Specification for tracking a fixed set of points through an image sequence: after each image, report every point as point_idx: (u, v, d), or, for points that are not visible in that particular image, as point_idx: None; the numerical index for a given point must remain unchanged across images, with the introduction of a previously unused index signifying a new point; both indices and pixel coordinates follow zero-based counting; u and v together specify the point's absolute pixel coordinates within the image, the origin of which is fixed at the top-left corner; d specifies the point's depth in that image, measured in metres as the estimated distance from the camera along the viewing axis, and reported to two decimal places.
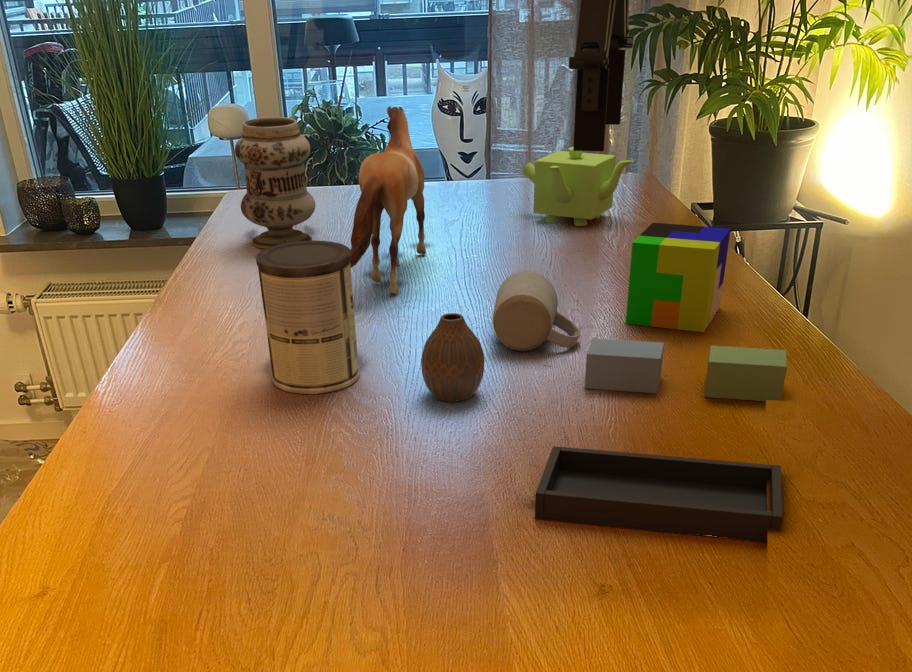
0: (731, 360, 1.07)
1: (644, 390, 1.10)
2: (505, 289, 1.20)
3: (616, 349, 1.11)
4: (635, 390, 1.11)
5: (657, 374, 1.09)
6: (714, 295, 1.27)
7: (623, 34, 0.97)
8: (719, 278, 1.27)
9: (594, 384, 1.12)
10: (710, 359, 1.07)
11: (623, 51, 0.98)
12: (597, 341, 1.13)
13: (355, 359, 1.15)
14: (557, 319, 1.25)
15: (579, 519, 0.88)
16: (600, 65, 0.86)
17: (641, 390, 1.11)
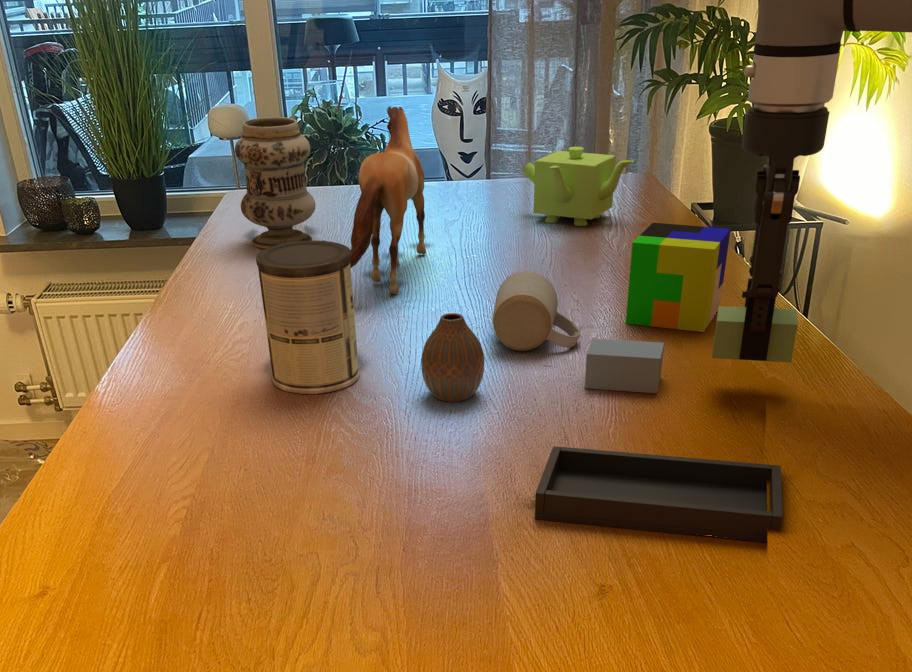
0: (740, 319, 1.04)
1: (644, 390, 1.10)
2: (505, 289, 1.20)
3: (616, 349, 1.11)
4: (635, 390, 1.11)
5: (657, 374, 1.09)
6: (714, 295, 1.27)
7: None
8: (719, 278, 1.28)
9: (594, 384, 1.12)
10: (718, 318, 1.05)
11: None
12: (597, 341, 1.13)
13: (355, 359, 1.15)
14: (557, 319, 1.25)
15: (579, 519, 0.88)
16: (769, 298, 1.00)
17: (641, 390, 1.11)
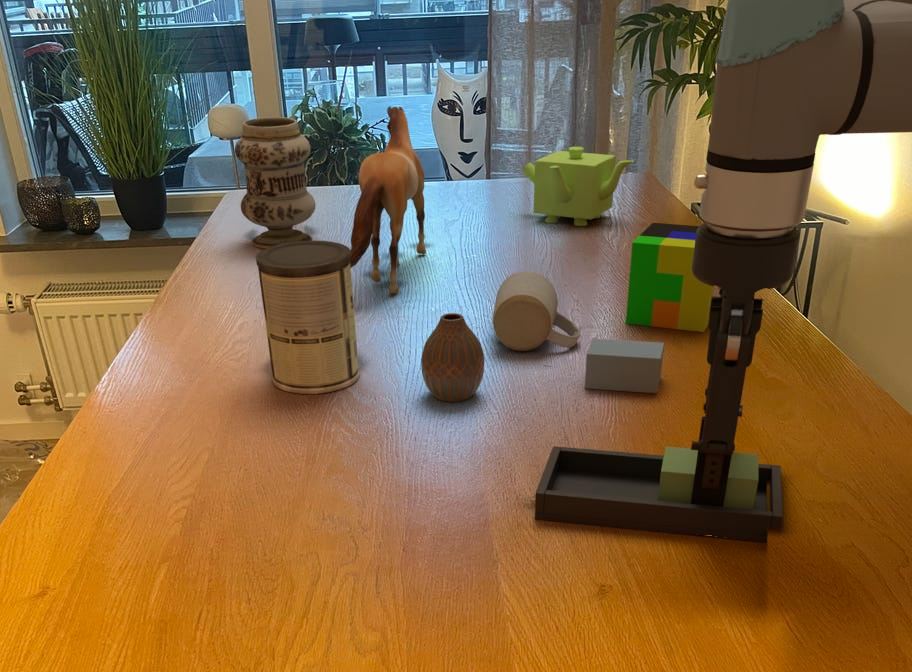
0: (689, 469, 0.85)
1: (644, 390, 1.10)
2: (505, 289, 1.20)
3: (616, 349, 1.11)
4: (635, 390, 1.11)
5: (657, 374, 1.09)
6: (714, 295, 1.27)
7: None
8: None
9: (594, 384, 1.12)
10: (663, 467, 0.86)
11: None
12: (597, 341, 1.13)
13: (355, 359, 1.15)
14: (557, 319, 1.25)
15: (579, 519, 0.88)
16: None
17: (641, 390, 1.11)
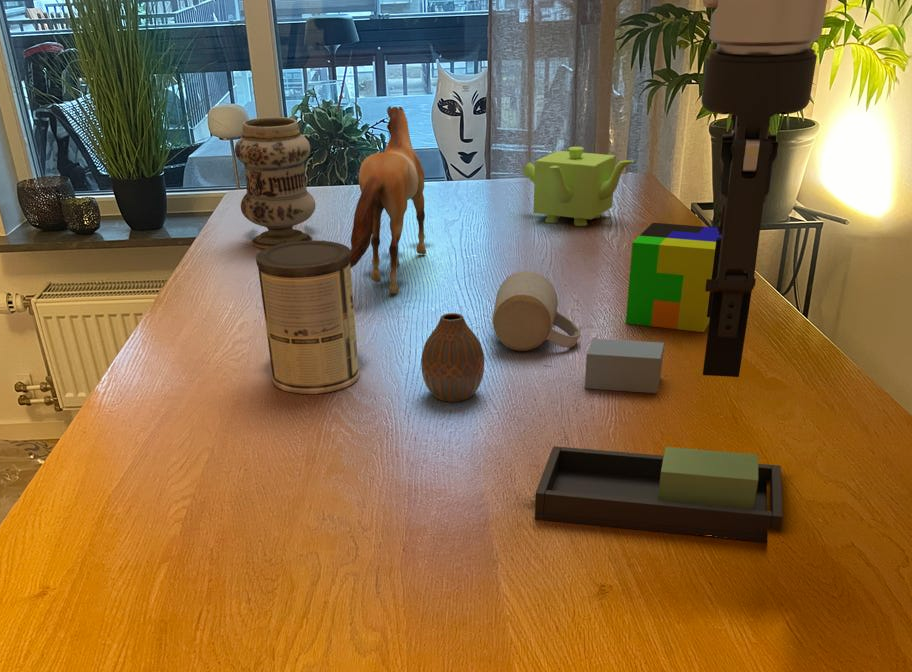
0: (689, 469, 0.85)
1: (644, 390, 1.10)
2: (505, 289, 1.20)
3: (616, 349, 1.11)
4: (635, 390, 1.11)
5: (657, 374, 1.09)
6: None
7: None
8: None
9: (594, 384, 1.12)
10: (663, 468, 0.86)
11: None
12: (597, 341, 1.13)
13: (355, 359, 1.15)
14: (557, 319, 1.25)
15: (579, 519, 0.88)
16: None
17: (641, 390, 1.11)
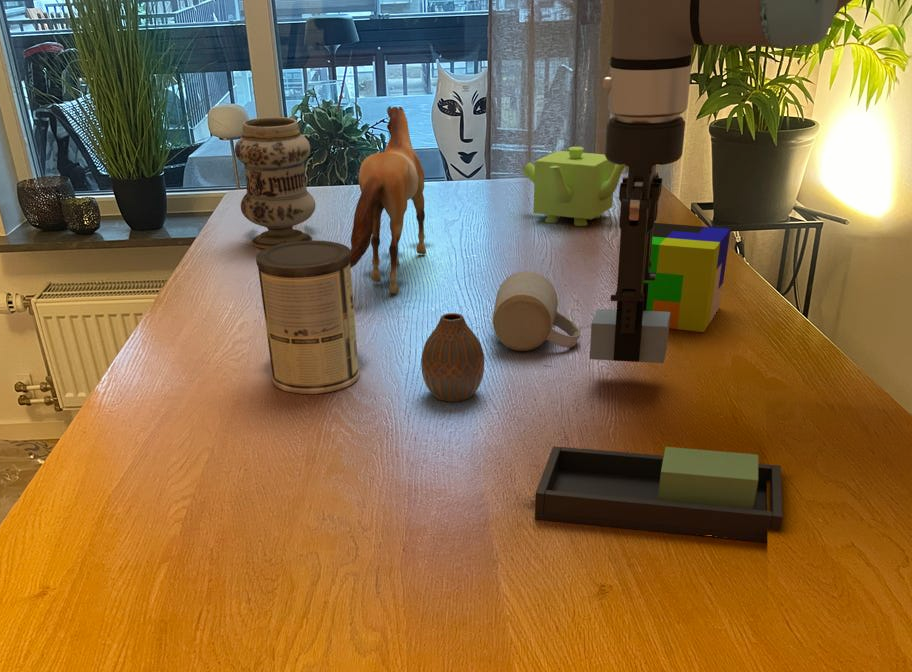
0: (689, 469, 0.85)
1: (650, 360, 1.08)
2: (505, 289, 1.20)
3: None
4: (641, 360, 1.08)
5: (663, 343, 1.07)
6: (714, 295, 1.27)
7: (647, 266, 1.08)
8: (719, 278, 1.28)
9: (599, 354, 1.09)
10: (663, 468, 0.86)
11: (647, 285, 1.09)
12: (602, 311, 1.10)
13: (355, 359, 1.15)
14: (557, 319, 1.25)
15: (579, 519, 0.88)
16: (636, 301, 1.03)
17: (647, 360, 1.08)
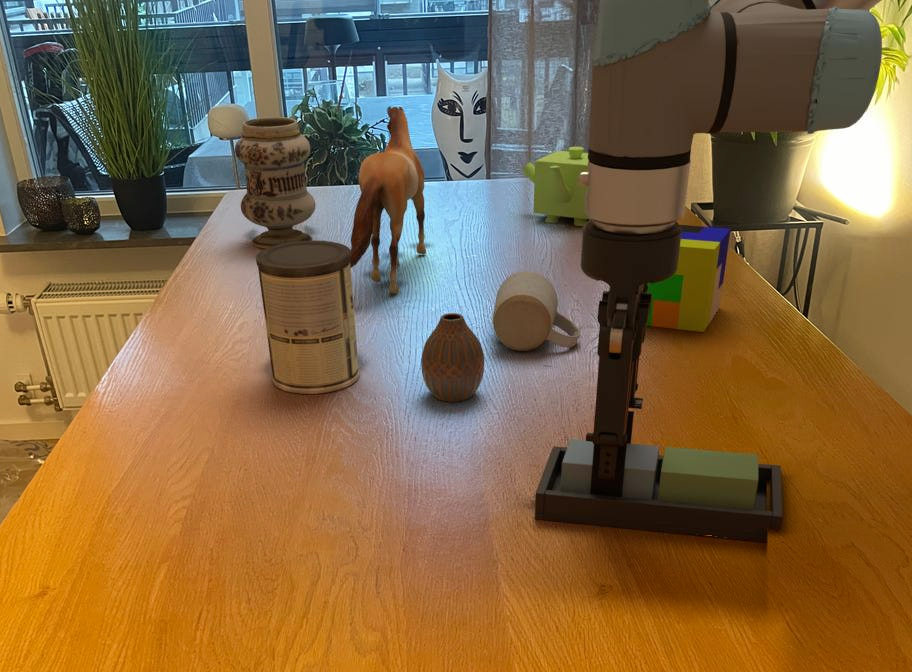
0: (689, 469, 0.85)
1: None
2: (505, 289, 1.20)
3: None
4: None
5: (650, 489, 0.87)
6: (714, 295, 1.27)
7: (632, 392, 0.88)
8: (719, 278, 1.28)
9: None
10: (663, 468, 0.86)
11: (631, 415, 0.88)
12: (575, 444, 0.90)
13: (355, 359, 1.15)
14: (557, 319, 1.25)
15: (579, 519, 0.88)
16: None
17: None
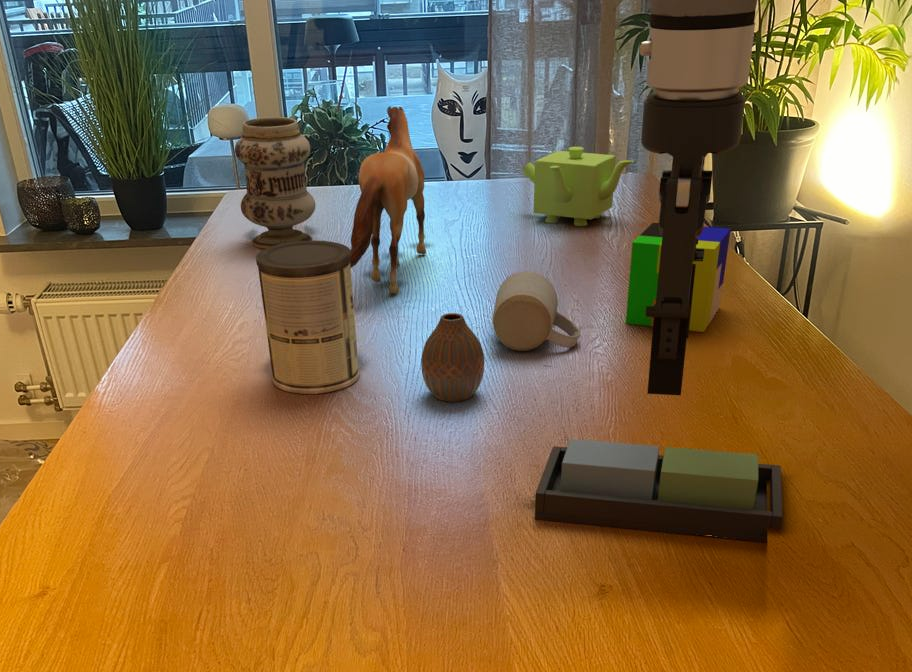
0: (689, 469, 0.85)
1: None
2: (505, 289, 1.20)
3: (599, 456, 0.88)
4: None
5: (650, 489, 0.87)
6: (714, 295, 1.27)
7: (694, 250, 0.89)
8: (719, 278, 1.28)
9: None
10: (663, 468, 0.86)
11: (694, 267, 0.89)
12: (575, 444, 0.90)
13: (355, 359, 1.15)
14: (557, 319, 1.25)
15: (579, 519, 0.88)
16: None
17: None
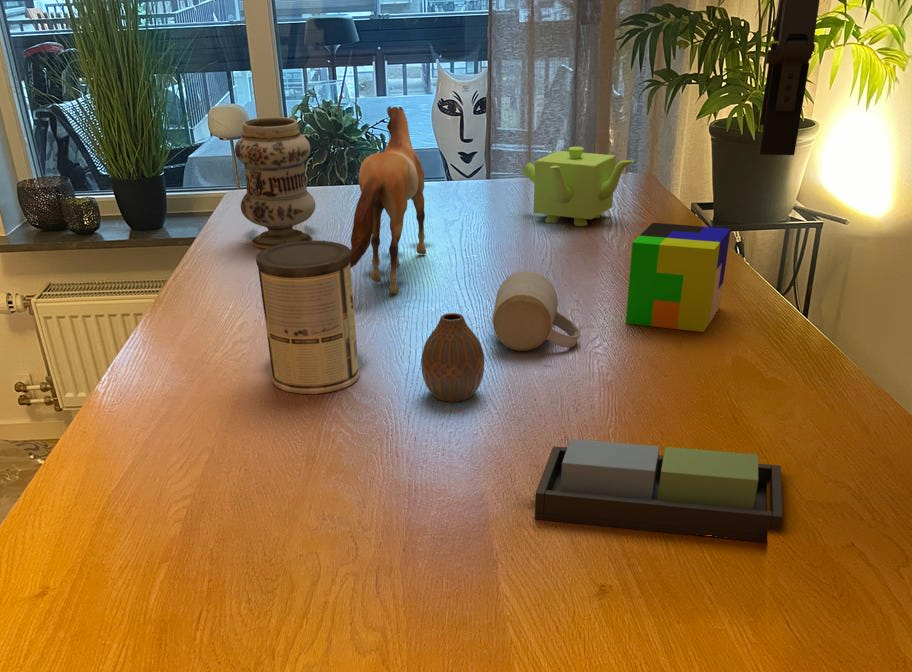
0: (689, 469, 0.85)
1: None
2: (505, 289, 1.20)
3: (599, 456, 0.88)
4: None
5: (650, 489, 0.87)
6: (714, 295, 1.27)
7: None
8: (719, 278, 1.28)
9: None
10: (663, 468, 0.86)
11: None
12: (575, 444, 0.90)
13: (355, 359, 1.15)
14: (557, 319, 1.25)
15: (579, 519, 0.88)
16: (802, 60, 0.77)
17: None
